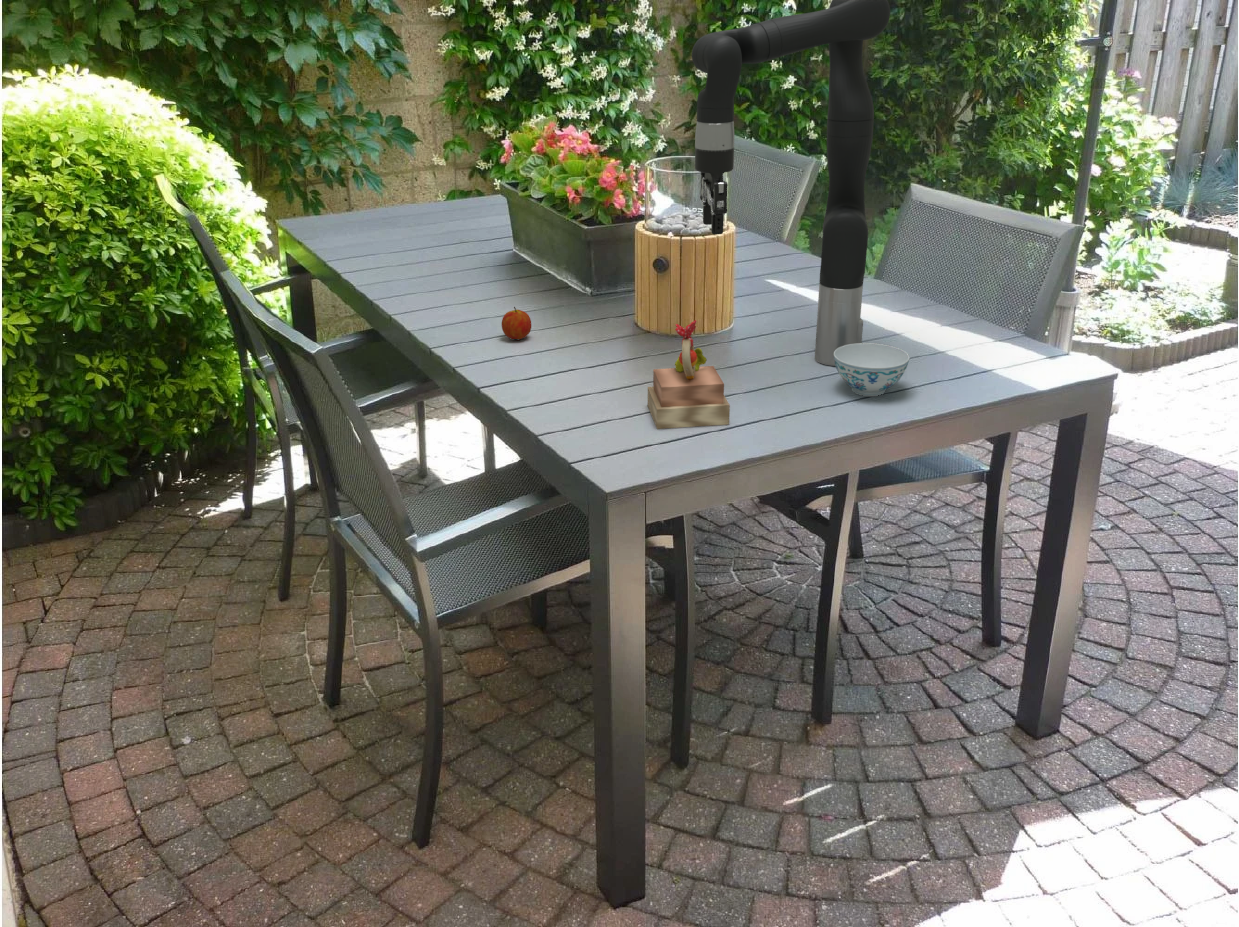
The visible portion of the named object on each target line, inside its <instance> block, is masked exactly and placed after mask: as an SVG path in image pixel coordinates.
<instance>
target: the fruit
mask: <svg viewBox="0 0 1239 927" xmlns="http://www.w3.org/2000/svg"><path fill="white" fill-rule="evenodd" d="M513 309H514V310H509V311H507V312H506V313H505V314H504V315H503V316H502V319H501V329H502V332H503V334H504V335H505V336H506V337H507V338H509V339H510V338H511V339H510V340H512V339H521V340H523V339H524V338H526V337H527V336H528V335H529V334H530V332H531V331H532V319H531V316H530V315H529V314H528V313H527V312H526V311H524V310H521V309H518V308H516V306H514V307H513ZM522 338H523V339H522Z"/></svg>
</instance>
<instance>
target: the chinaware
mask: <svg viewBox="0 0 1239 927" xmlns="http://www.w3.org/2000/svg"><path fill="white" fill-rule="evenodd" d="M834 361H835V365H836V366H835V368H836V370H837V373H838V375H839V376H840V378H841V379H842V380H843V382H845V383H846V385H848V386H849V387H851V391H852V392H853V393H854V392H855V393H854V394H857V395H858V394H859V395H860V396H862V395H863V397H877V396H878V395H879V396H882V395H883V394H885V393H884V392H886V390H887V389H889V388H891V387H892V386H894V385H895V384H896V383H898V381H899V380H900V379H901V378H902V377H903V376H904V374H905V372H906V370H907V368H908V365H909V361H910V355H909V354H908V352H907V351H905V350H903V349H901V348H898V347H896V346H892V345H888V344H882V343H873V342H862V343H856V344H849V345H844V346H841V347H839V348H837V349H836V350H835V351H834ZM881 394H882V395H881ZM859 395H858V396H859Z"/></svg>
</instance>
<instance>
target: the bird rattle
mask: <svg viewBox="0 0 1239 927" xmlns="http://www.w3.org/2000/svg"><path fill="white" fill-rule="evenodd" d="M697 322H698V321H697V319H694V320H693V321H692V322H691V323H689V324H688V325H686V326H685V327H683V326H681V325H680V324H678V323H675V332H676V334H678V335H679V336H681V337H682V340H681V352H680V353H679V356H678V357H677V359H676V361H675V362H674V366H675V368H676V371H677V372H682V371H684V372H685V374H686V378H687V379H693V378H694V373H695V371H698V370H699V367H701V365H705V364H706V363H707V358H706V357H705V356H704V354H703V350H702V348H700V347H697V348H695V345H694V339H693V336H691V335H692V334H693V333H694V331H695V330H696V328H697V326H696V324H697Z"/></svg>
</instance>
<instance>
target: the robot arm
mask: <svg viewBox="0 0 1239 927" xmlns="http://www.w3.org/2000/svg"><path fill="white" fill-rule="evenodd" d="M890 16H891V7H890V3H889V1H888V0H831V2H830V4H829V6H828V8H824V9H821V10H818V11H811V12H804V13H798V14H791V15H785V16H780V17H776V18H771V19H767V20H764V21H759V22H756V23H753V24H750V25H748V26H744V27H740V28H732V29H727V30H720V31H714V32H711V33H707V34H704V35H703V36H701V37H700V38H698V39H697V40H696V42H695V43H694V45H693V47H692V50H691V60H692V62H693V64H694V66H695V67H696V68H697V70H699V71H700V72H702V73H705V74H706V82H705V88H704V89H701V90H700V91H699V93H698V95H697V101H696V127H695V134H694V136H695V139H694V141H695V143H694V169H695V170H696V172H699V173H700V193H699V194H700V196H699V198H700V199H699V200H701V205H702V224H703V225H705V226H709V225H711V226H710V227H711V231H710V232H711V234H712V235H722V234H723V233H724V216H726V215H725V214H728V185H729V184H728V182H727V181H726V180H724V176H723V175H724V173H729V172H730V173H731V171H733V170H734V163H735V125H734V124H735V123H734V120H735V117H734V116H735V96H736V93H737V89H738V84H739V80H740V76H741V72H742V65H743V64H752V65H755V64H761V63H764V62H768V61H771V60H775V59H778V58H781V57H784V56H788V55H791V54H795V53H799V52H802V51H804V50H808V49H812V48H815V47H820V46H823V45H828V53H829V54H828V56H829V58H828V59H829V78H828V108H827V119H826V120H827V122H826V123H827V124H826V154H827V168H828V183H829V185H828V192H827V201H826V208H825V209H826V210H825V215H824V217H823V218H824V220H823V222H822V223H823V224H822V238H821V239H822V241H821V242H822V244H821V259H820V270H819V285H818V299H817V312H816V313H817V314H816V316H817V317H816V328H815V329H816V332H815V344H814V345H815V348H814V360H815V361H816V362H817V363H819V364H823V365H826V366H832V367H833V366H834V367H836V365H835V361H834V351H835V350H836V349H837V348H839V347H841V346H844V345H849V344H856V343H863V331H864V330H863V329H864V320H863V319H862V318H861V316H862V315H861V314H862V303H863V289H864V278H865V273H866V263H867V255H868V254H867V253H868V241H869V228H868V223H867V219H866V218H867V217H866V205H865V203H866V202H865V200H866V199H865V181H866V176H867V175H866V174H867V171H868V166H869V162H870V157H871V153H872V152H871V151H872V146H873V138H874V137H873V136H874V124H875V123H874V120H875V118H874V117H875V107H874V102H873V97H872V94H871V90H870V88H869V85H868V82H867V78H866V74H865V71H864V66H863V65H864V64H863V48H864V47H863V46H864V41H868V40H871V39H874V38H876V37H877V36H879V35H880V34H881V33H883V31H884V30H885V29H886V27H887V26H888V23H889V20H890ZM718 205H719V206H720V207H719V206H718Z"/></svg>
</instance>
